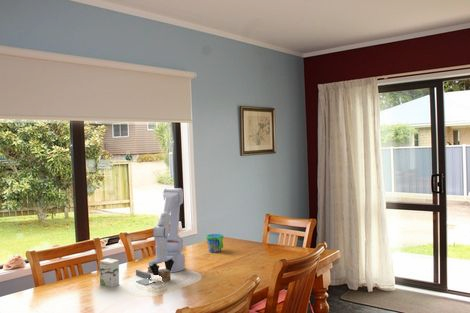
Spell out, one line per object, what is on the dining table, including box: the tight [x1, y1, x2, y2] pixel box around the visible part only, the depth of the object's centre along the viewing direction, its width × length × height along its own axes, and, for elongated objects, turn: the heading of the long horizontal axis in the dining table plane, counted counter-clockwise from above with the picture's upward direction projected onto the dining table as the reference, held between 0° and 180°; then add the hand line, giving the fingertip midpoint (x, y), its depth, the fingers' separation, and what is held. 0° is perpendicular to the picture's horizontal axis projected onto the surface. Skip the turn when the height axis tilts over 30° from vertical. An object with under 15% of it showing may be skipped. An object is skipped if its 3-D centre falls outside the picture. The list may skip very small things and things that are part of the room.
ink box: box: [99, 257, 120, 288], centre depth 204 cm, size 9×5×12 cm, turn 60°
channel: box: [135, 266, 153, 280], centre depth 217 cm, size 8×12×2 cm
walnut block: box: [158, 268, 171, 283], centre depth 209 cm, size 4×6×5 cm
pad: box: [135, 278, 151, 286], centre depth 206 cm, size 6×8×1 cm
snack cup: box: [205, 233, 224, 254], centre depth 264 cm, size 16×10×10 cm
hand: (162, 276), depth 209 cm, fingers open, 7 cm apart
